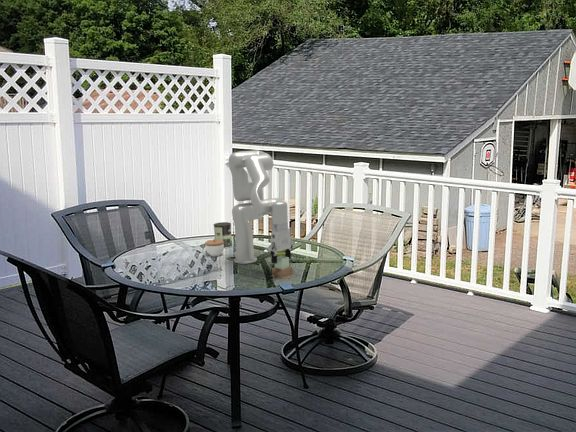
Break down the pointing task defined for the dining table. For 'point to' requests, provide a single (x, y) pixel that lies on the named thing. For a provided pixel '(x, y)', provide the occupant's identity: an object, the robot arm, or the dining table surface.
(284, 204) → the robot arm
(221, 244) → the lidded jar
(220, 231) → the coffee can
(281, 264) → the sage cube
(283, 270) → the walnut base block
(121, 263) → the dining table surface
